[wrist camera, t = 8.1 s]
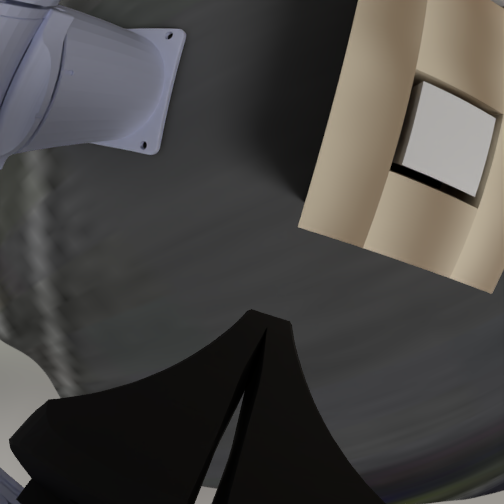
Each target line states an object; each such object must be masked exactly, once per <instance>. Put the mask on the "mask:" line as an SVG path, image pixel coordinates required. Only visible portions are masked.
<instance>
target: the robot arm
mask: <svg viewBox="0 0 504 504" xmlns="http://www.w3.org/2000/svg"><path fill="white" fill-rule="evenodd" d="M59 2H60V0H0V169H2V167H3V165H4V162H5V161H6V159H7V158H8V157H9V156H10V155H11V154H16V153H22V152H27V151H33V150H39V149H45V148H52V147H59V146H66V145H74V144H82V143H93V144H98V145H103V146H109V147H114V148H119V149H124V150H129V151H134V152H138V153H143V154H148V155H153V154H156V153H157V152H158V151H159V149H160V145H161V140H162V135H163V130H164V125H165V120H166V115H167V111H168V106H169V102H170V97H171V93H172V89H173V85H174V81H175V77H176V73H177V69H178V65H179V61H180V58H181V54H182V50H183V47H184V43H185V40H186V33H185V32H184V31H183V30H182V29H173V28H137V29H125V28H122V27H120V26H117V25H115V24H112V23H110V22H107V21H105V20H102V19H99V18H97V17H94V16H91V15H89V14H86V13H83V12H80V11H77V10H74V9H71V8H68V7H65V6H62V5H59V4H58V3H59ZM172 33H173V36H172V38H170V39H168V36H169V35H170V34H172ZM144 142H146V143H147V147H146V149H144V147H143V143H144ZM244 391H245V393H244ZM243 393H244V397H243V401H242V406H241V410H240V414H239V419H238V423H237V427H236V432H235V436H234V440H233V444H232V448H231V452H230V455H229V458H228V461H227V464H226V467H225V469H224V472H223V475H222V478H221V480H220V483H219V486H218V488H217V491H216V494H215V496H214V499H213V502H212V504H385V503H384V502H383V500H382V499H381V498H380V497H379V496H378V495H377V494H376V493H375V492H374V491H373V490H372V489H371V488H370V487H369V486H368V485H367V484H366V483H365V482H364V480H363V479H362V478H361V477H360V475H359V474H358V473H357V472H356V470H355V469H354V468H353V467H352V465H351V464H350V463H349V461H348V460H347V458H346V457H345V455H344V454H343V452H342V451H341V449H340V448H339V446H338V445H337V443H336V442H335V440H334V439H333V437H332V436H331V434H330V432H329V430H328V428H327V427H326V425H325V423H324V421H323V419H322V417H321V415H320V413H319V411H318V409H317V407H316V405H315V403H314V400H313V398H312V396H311V393H310V390H309V388H308V385H307V383H306V380H305V377H304V374H303V371H302V368H301V364H300V361H299V358H298V354H297V350H296V346H295V342H294V336H293V330H292V325H291V323H290V321H287V320H283V319H280V318H277V317H274V316H271V315H268V314H264V313H261V312H258V311H255V310H252V309H251V310H248V311H247V312H246V313H245V314H244V315H243V316H242V317H241V318H240V319H239V320H238V321H237V322H236V323H235V324H234V325H233V326H232V327H231V328H230V329H228V330H227V331H226V332H225V333H223V334H222V335H221V336H219V337H218V338H217V339H216V340H214V341H213V342H212V343H210V344H209V345H207V346H206V347H204V348H203V349H201V350H200V351H198V352H196V353H195V354H193V355H192V356H190V357H188V358H187V359H185V360H183V361H181V362H179V363H177V364H175V365H173V366H171V367H169V368H167V369H165V370H163V371H161V372H158V373H156V374H154V375H151V376H149V377H146V378H144V379H141V380H139V381H136V382H133V383H130V384H126V385H123V386H119V387H116V388H112V389H109V390H105V391H101V392H97V393H92V394H87V395H81V396H74V397H67V398H60V399H51V400H48V401H47V402H46V403H45V404H43V405H42V406H41V407H40V408H38V409H37V410H36V411H35V412H34V413H33V414H32V415H31V416H30V417H29V418H28V419H27V420H26V421H25V422H24V423H23V425H22V426H21V427H20V428H19V429H18V430H17V431H16V432H15V434H14V435H13V436H12V437H11V438H10V439H9V443H10V448H11V450H12V452H13V454H14V455H15V457H16V458H17V459H18V461H19V462H20V464H21V465H22V466H23V467H24V469H25V470H26V471H27V472H28V474H29V475H30V476H31V478H32V479H31V480H30V481H29V483H28V484H27V485H26V487H25V488H23V487H22V486H21V485H20V484H19V483H18V482H16V481H15V480H14V479H13V478H12V477H10V476H9V475H8V474H7V473H6V472H4V470H2V469H1V468H0V504H194V503H195V501H196V498H197V496H198V493H199V491H200V488H201V486H202V483H203V481H204V478H205V476H206V473H207V471H208V468H209V466H210V463H211V460H212V458H213V455H214V453H215V451H216V448H217V446H218V444H219V442H220V440H221V438H222V436H223V434H224V432H225V430H226V428H227V426H228V424H229V422H230V420H231V418H232V416H233V414H234V412H235V410H236V408H237V406H238V403H239V401H240V399H241V397H242V395H243Z"/></svg>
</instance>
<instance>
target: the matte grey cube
mask: <svg viewBox="0 0 504 504" xmlns="http://www.w3.org/2000/svg"><path fill="white" fill-rule="evenodd" d="M495 120H496V118H494V117H493V116H491V115H489V114H487V113H486V112H484V111H482V110H480V109H479V108H477V107H475V106H473V105H471V104H470V103H468V102H466V101H464V100H462V99H460V98H458V97H456V96H454V95H452V94H450V93H448V92H446V91H444V90H442V89H440V88H438V87H436V86H433V85H431V84H429V83H427V82H425V81H423V82H421V83H419V84H418V85H416V86H414V87H412V89H411V93H410V97H409V102H408V106H407V110H406V114H405V118H404V121H403V125H402V129H401V133H400V136H399V140H398V143H397V147H396V150H395V154H394V157H393V161H392V162H393V163H395V164H398V165H400V166H403V167H406V168H408V169H411V170H413V171H415V172H418V173H420V174H423V175H425V176H427V177H430V178H432V179H434V180H437V181H439V182H442V183H444V184H446V185H449V186H451V187H453V188H456V189H458V190H460V191H463V192H465V193H467V194H469V195H471V196H474V197H475V195H476V192H477V189H478V186H479V183H480V179H481V176H482V173H483V169H484V166H485V162H486V158H487V155H488V151H489V147H490V143H491V139H492V134H493V130H494V125H495Z"/></svg>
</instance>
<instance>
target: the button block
mask: <svg viewBox="0 0 504 504" xmlns="http://www.w3.org/2000/svg"><path fill="white" fill-rule="evenodd" d="M423 81H425V82H427V83H429V84H431V85H433V86H436V87H438V88H440V89H442V90H444V91H446V92H448V93H450V94H452V95H454V96H456V97H458V98H460V99H462V100H464V101H466V102H468V103H470V104H471V105H473V106H475V107H477V108H479V109H480V110H482V111H484V112H486V113H487V114H489V115H491V116H493V117H494V118H496V120H495V125H494V130H493V134H492V139H491V143H490V147H489V151H488V155H487V158H486V162H485V166H484V169H483V173H482V176H481V179H480V183H479V186H478V189H477V192H476V195H475V197H474V196H471V195H469V194H467V193H465V192H463V191H460V190H458V189H456V188H453V187H451V186H449V185H446V184H444V183H442V184H441V187H440V189H438V188H435V187H433V186H431V185H428V184H426V183H424V182H421V181H419V180H416V179H414V178H411V177H409V176H406V175H404V174H401V173H399V172H396V171H394V170H391V169H390V167H391V164H392V161H393V157H394V154H395V150H396V147H397V143H398V140H399V136H400V133H401V129H402V125H403V121H404V118H405V114H406V110H407V106H408V102H409V97H410V93H411V89H412V87H414V86H416V85H418V84H419V83H421V82H423ZM298 227H299V228H303V229H306V230H309V231H312V232H315V233H318V234H322V235H325V236H328V237H331V238H334V239H337V240H340V241H343V242H346V243H350V244H353V245H356V246H359V247H362V248H365V249H368V250H371V251H374V252H377V253H380V254H383V255H386V256H388V257H391V258H394V259H397V260H400V261H403V262H406V263H409V264H412V265H414V266H417V267H420V268H423V269H426V270H429V271H431V272H434V273H437V274H440V275H443V276H445V277H448V278H451V279H454V280H456V281H459V282H462V283H464V284H467V285H470V286H472V287H475V288H478V289H480V290H483V291H486V292H488V293H491V294H492V292H493V290H494V288H495V286H496V284H497V282H498V280H499V278H500V276H501V274H502V272H503V269H504V6H503V7H501V6H499V5H497V4H496V3H494V2H493V1H491V0H358V1H357V6H356V10H355V14H354V19H353V23H352V27H351V32H350V36H349V40H348V44H347V48H346V52H345V56H344V60H343V64H342V68H341V72H340V76H339V80H338V84H337V88H336V92H335V96H334V99H333V103H332V107H331V111H330V114H329V118H328V122H327V126H326V129H325V133H324V137H323V140H322V144H321V147H320V151H319V154H318V158H317V162H316V165H315V169H314V172H313V176H312V179H311V182H310V186H309V189H308V193H307V196H306V200H305V203H304V207H303V210H302V214H301V217H300V221H299V224H298Z"/></svg>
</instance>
